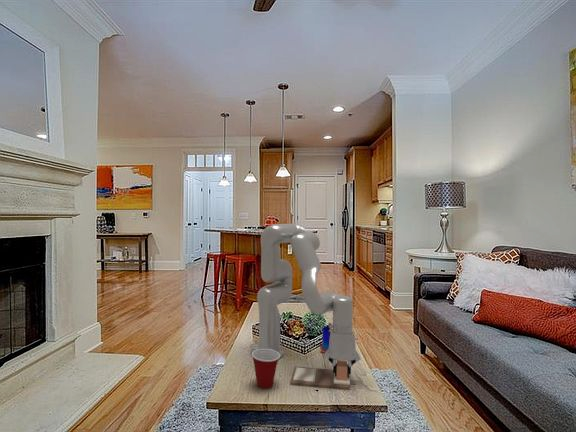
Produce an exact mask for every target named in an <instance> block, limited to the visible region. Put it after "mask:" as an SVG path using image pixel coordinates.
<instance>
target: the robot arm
mask: <svg viewBox="0 0 576 432" xmlns="http://www.w3.org/2000/svg"><path fill="white" fill-rule="evenodd" d="M284 243H285V244H286V243H289V244H290V246H291V247H290V248H291V250H292V253H293V254H294V257H295V259H296V262H297V264H298V266H299V269H300V271H301V275H302V276H301V293H302V294H301V295H302V296H303V299H304V301H305V305H306V306H307V308H308V310H309V311H310V312H311V313H312V314H314V315H315V316H322V315H324V314H326V313H328V312H329V313H330V312H332V323H331V325H329V328H331V329H333V330H331V333H330V340H329V348H328V350H327V351H326V353H325V354H323V357H324V358H325V359H326V360H327V361H329V362H330V363H331V364H332V370H333V373H335V376H337V360H346V361H347V377H349V374H350V375H351V374H352V367H353V366H354V364H356V363H357V362H359V361H361V356H360V354H359V353H358V351H357V348H356V347H357V346H356V335H355V332H354V331H353V316H354V315H353V313H354V311H353V310H354V309H353V308H354V300H353V298H352V297H351V296H349V295H345V294H344V295H343V294H339V293H336V292H334V291H330V290H329V291H325V292H322V293H320V291H319V289H318V286H317V276H318V274H319V272H320V270H321V268H322V263H321V262H320V259H319V256H318V254H317V253H316V251H317V250H318V249H319V248H320V246H321V242H320V238H319V237H318V235H317V234H316V233H314V232H313V231H311V230H309V229H306V228H305V227H302V226H300V225H298V224H296V223H276V224H271V225H269V226H266V227H265V228H264V229H263V230H262V232H261V235H260V247H261V257H260V258H261V259H260V260H261V261H260V275H261V276H260V277H261V279H262V281H263V282H265V283H267V285H265V286H263V287H260V289H259V290H258V292H257V294H256V299H257V300H256V301H257V307H258V341H259V342H258V343H257V344H254V343H250V344H249V348H250V350H251V351H255V350H257V349H271V350H275V351H277V352H279V354H280V358H279V359H281V358H283V356H284V351H283V349H281V313H280V311H279V308H278V306H279V305H280V304H283V303H287V302H288V301H290V299H291V297H292V294H293V268H292V265H291V263H290V262H289V261H288V260H287V259H283V258H281V250H280V247H279V245H280V244H284ZM268 283H271V284H268Z"/></svg>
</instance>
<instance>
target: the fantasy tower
mask: <svg viewBox="0 0 576 432" xmlns="http://www.w3.org/2000/svg"><path fill="white" fill-rule="evenodd" d="M331 324H332V323H331V322H330V323H328V325H327V326H324V327H322V342H321V343H322V344H320V345H319V346H320V351H319V353H320V354H323V355H324V354H325V353H326V351H327V350H328V348H329V340H330V333H331V330H333V329H331V328H329V325H331ZM321 345H322V346H321ZM319 346H318V347H319Z"/></svg>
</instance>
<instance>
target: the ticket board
mask: <svg viewBox="0 0 576 432" xmlns="http://www.w3.org/2000/svg"><path fill="white" fill-rule="evenodd" d="M289 385H290V386H298V387H310V388H323V389H333V390H343V391H345V390H346V391H350V385H343V384H334V373H333V369H331V368H330V369H328V368H319V367H303V366H294V368H293V371H292V375H291V377H290V382H289Z"/></svg>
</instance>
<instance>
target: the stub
mask: <svg viewBox="0 0 576 432" xmlns="http://www.w3.org/2000/svg"><path fill="white" fill-rule="evenodd" d="M336 364H337V376H335V373H334V384H343V385H349V386H350V385H351V377H350V376H351V374H349V377H347V364H348V360H337V361H336Z"/></svg>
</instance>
